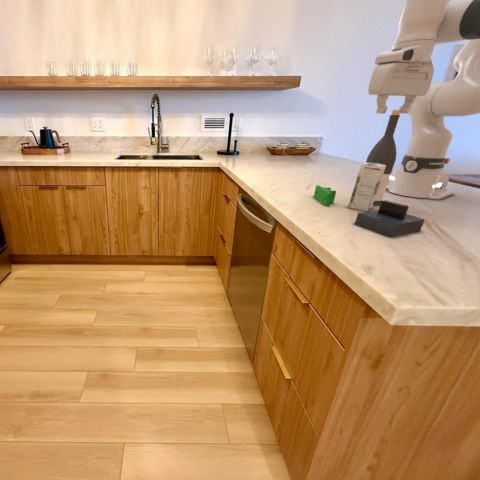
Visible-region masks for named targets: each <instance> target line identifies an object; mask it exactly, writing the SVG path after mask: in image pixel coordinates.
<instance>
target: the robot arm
mask: <svg viewBox="0 0 480 480" xmlns="http://www.w3.org/2000/svg"><path fill="white" fill-rule="evenodd" d="M397 27H398V28H397V29H398V30H397V31H398V32H397V35H396V37H395V40H394V41H393V44H392V47H391V49H389V50H387V51H385V52H382V53H379V54H377V55H376V57H375V60H374V65H375V67H374V68H373V70H372V73H371V76H370V79H369V83H368V88H367V91H368V95H370V96H377V97H376V105H377V107H376V111H375V113H376V114H377V115H379V114H381V115H382V114H386V113H387V110H388V106H387V100H389V96H394V97H398V96H399V97H404V102H403V104H402V105H401V106H400V107H399V109H398V110H399V113H400V114H405V115H406V114H408V115H409V117H410V120H411V127H412V129H411V130H412V131H411V137H410V141H409V143H408V147H407V149H406V153H405V154H404V155H403V157H402V159H401V162H400V164H401V165H400V167H398V168H396V169H395V171H394V173H393V176H392V175H390V178H389V180H391V181H390V182H389V185H388V184H387V187H386V190H387V191H388V192H390V193H392V194H396V195H400V196H403V197H409V198H418V199H430V200H441V199H444V198H447V197H449V196H452V195H453V191H451V190H448V189H447V187H448V184H449V182H450V178H449V177H448V175H447V174H446V172H445V170H444V168H445V165H448V164H449V163H450V158H449V157H448V158H446V154H447V152H448V149H449V147H450V144H451V142H452V140H453V133H452V132H451V131H450V130H449V129H448V128H447V127H446V125H445V117H466V116H467V117H468V116H472V115H478V114H480V0H406V2H405V4H404V7H403V10H402V13H401V15H400V19H399V23H398V26H397ZM461 41H466V43H465V44H464V45H463V46H462V48H461V49H460V50H459V52H458V53H457V55H456V56H455V57H454V59H453V68H454V70H455V72H456V73H457V75H456V76H455V77H454V78H453V79H451V80H448V81H447V80H445V81H437V82H433V77H434V73H435V68H434V63H433V59H431V58H432V55H433V51H434V49H435V45H441V44H442V45H443V44H449V43H454V42H461Z"/></svg>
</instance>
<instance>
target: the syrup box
mask: <svg viewBox="0 0 480 480" xmlns="http://www.w3.org/2000/svg"><path fill="white" fill-rule="evenodd" d="M385 168H386V165H383V164H378V163H366V162H365V163H363V164H361V165H360V168H359V171H358V174H357V178H356V180H355V183H354V186H353V190H352V193H351V196H350V200H349V203H348V206H347V208H348V209H353V210H358V211H362V212H367V211H370V210H372V208H373V206H374V205H373V203H374V200H375V197H376V194H377V191H378V188H379V185H380V182H381V179H382V176H383V173H384V170H385Z"/></svg>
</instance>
